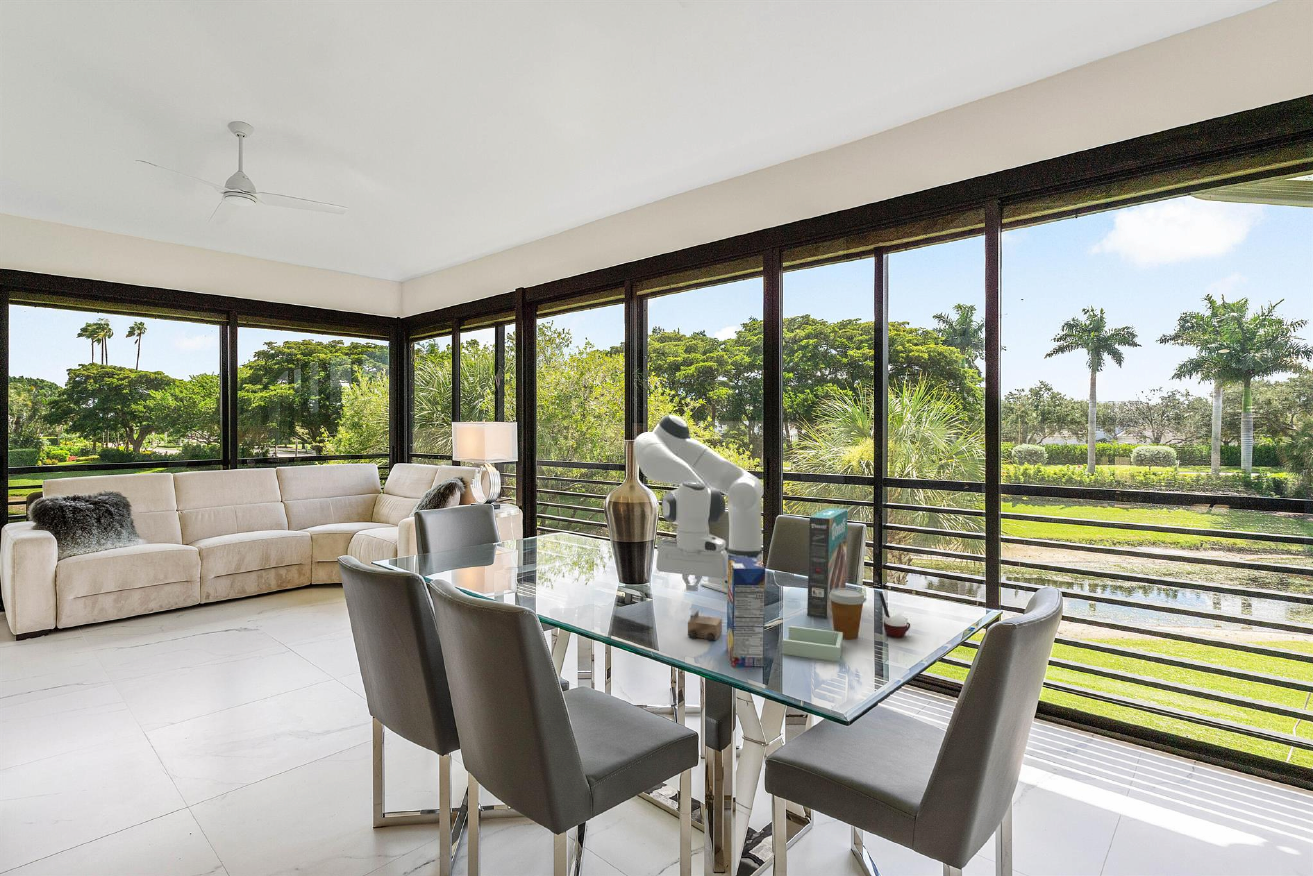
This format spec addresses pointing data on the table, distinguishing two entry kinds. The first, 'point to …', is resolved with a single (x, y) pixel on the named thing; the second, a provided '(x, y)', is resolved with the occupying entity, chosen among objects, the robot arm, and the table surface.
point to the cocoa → (894, 621)
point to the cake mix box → (826, 559)
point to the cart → (704, 627)
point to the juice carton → (745, 612)
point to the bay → (813, 643)
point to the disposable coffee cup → (846, 611)
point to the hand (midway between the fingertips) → (691, 590)
